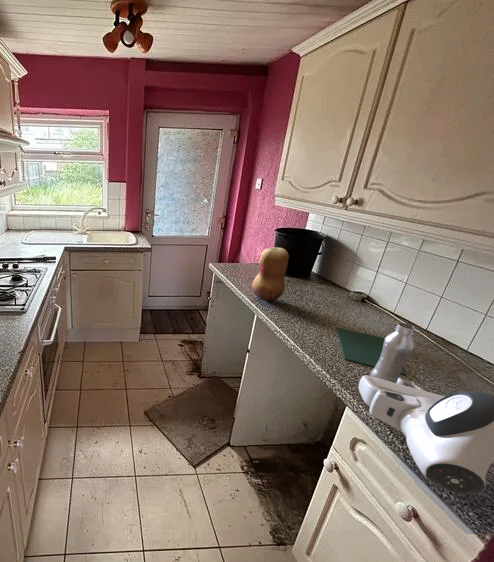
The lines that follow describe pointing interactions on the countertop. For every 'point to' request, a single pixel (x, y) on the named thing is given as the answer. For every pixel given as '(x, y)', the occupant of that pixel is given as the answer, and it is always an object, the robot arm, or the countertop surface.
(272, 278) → the butternut squash
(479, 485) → the robot arm
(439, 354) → the countertop surface
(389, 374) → the plastic bottle
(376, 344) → the rubber mat
